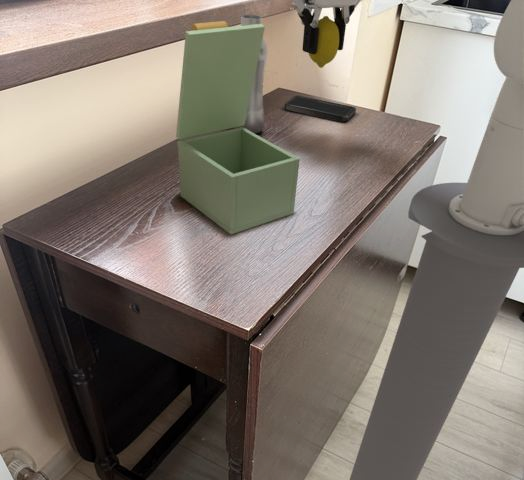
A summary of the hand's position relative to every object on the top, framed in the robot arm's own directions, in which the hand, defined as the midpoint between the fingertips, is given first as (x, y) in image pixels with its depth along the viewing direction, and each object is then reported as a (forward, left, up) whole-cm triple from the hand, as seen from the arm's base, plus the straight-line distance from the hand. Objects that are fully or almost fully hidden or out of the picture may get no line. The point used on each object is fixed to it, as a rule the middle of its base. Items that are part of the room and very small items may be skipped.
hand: (322, 49), depth 90 cm
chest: (-13, +28, -16) cm, 35 cm away
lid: (-9, +28, 0) cm, 29 cm away
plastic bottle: (+11, +8, -17) cm, 21 cm away
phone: (+13, -14, -16) cm, 25 cm away
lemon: (0, 0, -3) cm, 3 cm away
